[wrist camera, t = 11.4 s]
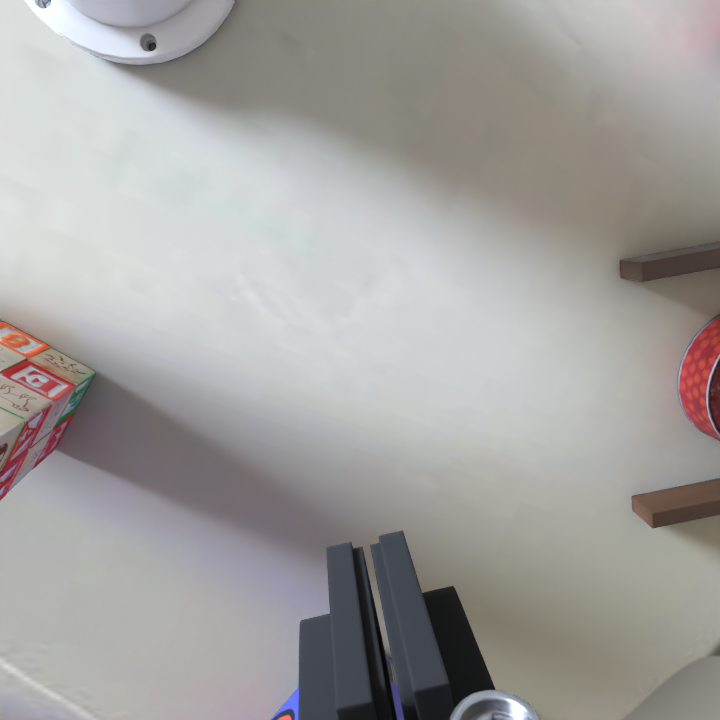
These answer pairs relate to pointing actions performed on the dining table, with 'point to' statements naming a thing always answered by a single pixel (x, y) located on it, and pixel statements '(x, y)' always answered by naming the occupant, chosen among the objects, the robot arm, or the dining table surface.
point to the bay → (698, 496)
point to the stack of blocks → (33, 401)
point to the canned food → (702, 380)
